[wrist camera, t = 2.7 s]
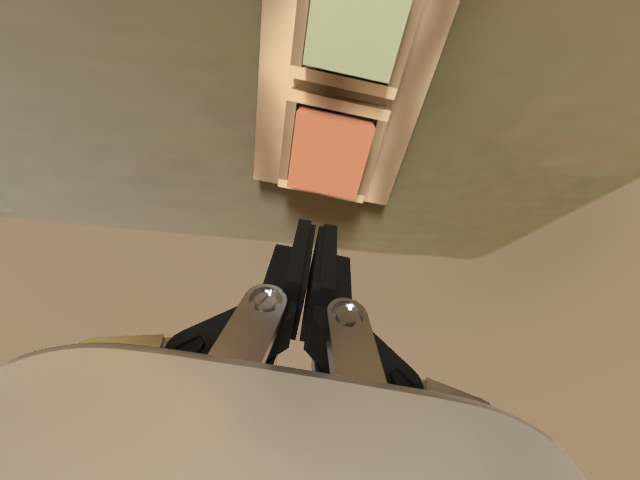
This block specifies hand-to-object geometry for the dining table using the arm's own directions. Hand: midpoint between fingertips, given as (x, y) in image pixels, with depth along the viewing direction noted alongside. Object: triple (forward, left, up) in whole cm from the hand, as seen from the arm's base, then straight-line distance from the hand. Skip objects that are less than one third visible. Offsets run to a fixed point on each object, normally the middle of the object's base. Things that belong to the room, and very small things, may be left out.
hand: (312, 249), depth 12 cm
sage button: (0, -9, -15) cm, 18 cm away
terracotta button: (0, 0, -15) cm, 15 cm away
